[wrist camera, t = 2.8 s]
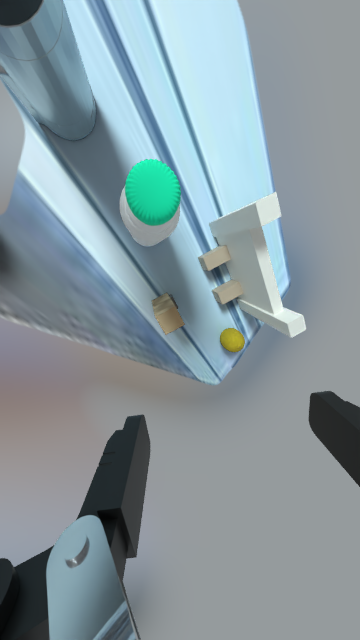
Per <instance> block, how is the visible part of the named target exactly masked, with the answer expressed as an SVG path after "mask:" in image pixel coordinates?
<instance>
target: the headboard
mask: <svg viewBox="0 0 360 640" xmlns="http://www.w3.org/2000/svg"><path fill="white" fill-rule="evenodd" d="M279 217H281V212H280V207H279V203H278V198H277V194H276V192H274V193H272V194H270V195H268V196H266V197H264V198H261V199H259V200H257V201H255V202H253V203H250V204H248V205H246V206H244V207H242V208H240V209H237V210H235V211H233V212H231V213H229V214H226V215H224V216H222V217H220V218H218V219H216V220H214V221H213V222H211V223H209V226H210V229H211V232H212V234H213V237H216V239H217V242H218V244H219V246H218V247H216V248H215V249H213V250H211V251H209V252H207V253H205V254H203V255H201V256H200V257H198V259H199V261H200V264H201V266H202V268H203V270H206V271H210V270H212V269H214V268H215V267H217V266H219V265H221V264H223V263H226V266H227V269H228V271H229V274H230V277H231V280H230V281H228V282H226V283H224V284H222V285H220V286H219V287H217V288H215V289H213V290H212V292H213V294H214V297H215V299H216V301H217V302H219V303H221V304H222V305H223V304H225V303H227V302H229V301H230V300H232V299H234V298H236V297H238V298H237V302H238V304H239V307H240V309H241V310H243V311H245V312H247V313H248V314H250V315H252V316H254V317H255V318H257V319H259V320H261V321H263V322H264V323H266V324H268V325H270V326H271V327H273V328H275V329H277V330H278V331H280V332H282V333H284V334H285V335H287V336H289V337H291V338H292V337H293V336H295V335H297V334H299V333H301V332H303V331H305V330H306V326H305V321H304V316H303V315H301V314H299V313H296V312H294V311H291V310H288V309H286V308H283V306H282V302H281V298H280V294H279V290H278V287H277V283H276V279H275V275H274V272H273V268H272V264H271V260H270V257H269V253H268V249H267V245H266V241H265V238H264V234H263V230H262V226H264V225H266V224H268V223H270V222H271V221H273V220H275V219H277V218H279Z"/></svg>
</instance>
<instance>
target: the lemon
mask: <svg viewBox="0 0 360 640" xmlns="http://www.w3.org/2000/svg"><path fill="white" fill-rule="evenodd" d="M220 342H221V344H222V346H223V347H224V348H225V349H226V350H228V351H230V352H238V351H240V350H241V349H242V348H243V347H244V344H245V340H244V337H243V335H242V334H241V333H240V332H239V331H238V330H236V329H233V328H228V329H225V330H224V331H223V332H222V333H221V335H220Z"/></svg>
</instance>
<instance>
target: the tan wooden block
mask: <svg viewBox="0 0 360 640" xmlns="http://www.w3.org/2000/svg"><path fill="white" fill-rule="evenodd" d="M152 304H153V309H154V314H155V318H156V319H157V321H158V323H159V325H160V326H161V328H162V330H163V331H164V333H165V335H167V334H168V333H170V332H172V331H174V330H176V329H178V328H180V327H181V326H183V325H185V324H184V322H183V320H182V318H181V316H180V314H179V312H178V311H177V309H178V306H177V304H176V303H175V301H174V299H173V297H172V295H168V294H167V293H165V294H163V295H162V296H160V297H158V298H156V299H154V300H152Z"/></svg>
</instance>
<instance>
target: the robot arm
mask: <svg viewBox="0 0 360 640" xmlns="http://www.w3.org/2000/svg"><path fill="white" fill-rule="evenodd" d="M0 76H1V78H2V79H3V80H4V81H5V83H6V84H7V85H8V86H9V88H10V89H11V90H12V91H13V92H14V94H15V95H16V96H17V97H18V99H19V100H20V101H21V102H22V104H23V105H24V106H25V107H26V109H27V110H28V111H29V112H30V114H31V115H32V116H33V117H34V119H35V120H36V121H37V122H38V123H40V124H44V125H46V126H47V127H48V128H49V129H50V130H51V131H52V132H53V133H55V134H57V135H58V136H60V137H62V138H64V139H68V140H79V139H82V138H84V137H86V136H87V135H88V134H89V133H90V132H91V131H92V129H93V127H94V124H95V120H96V106H95V101H94V98H93V93H92V90H91V87H90V84H89V81H88V78H87V75H86V72H85V68H84V65H83V62H82V59H81V56H80V52H79V49H78V46H77V43H76V40H75V36H74V33H73V30H72V27H71V24H70V20H69V17H68V14H67V11H66V8H65V4H64V1H63V0H0ZM309 423H310V427H311V429H312V431H313V432H314V434H315V435H316V436H317V437H318V439H319V440H320V441H321V442H322V443H323V444H324V445H325V447H326V448H327V449H328V450H329V451H330V453H331V454H332V455H333V456H334V457H335V459H336V460H337V461H338V462H339V463H340V464H341V466H342V467H343V468H344V469H345V470H346V471H347V472H348V474H349V475H350V476H351V477H352V478H353V480H354V481H355V482H356V483H357V484H358V485H359V487H360V407H358V406H356V405H353V404H352V403H350V402H348V401H344V400H342V399H341V398H340V397H338V396H337V395H336V394H335V393H333V392H331V391H324V392H317V393H312V394H311V396H310V407H309ZM149 458H150V439H149V434H148V430H147V425H146V421H145V417H144V415H137V416H129V417H127V419H126V422H125V424H124V428H123V430H116V431H115V433H114V434H113V435H112V436H111V438H110V439H109V440H108V442H107V444H106V447H105V449H104V452H103V456H102V457H101V460H100V462H99V467H97V470H96V473H95V475H94V477H93V480H92V483H91V485H90V488H89V491H88V493H87V495H86V498H85V501H84V503H83V506H82V508H81V511H80V513H79V515H78V518H77V519H76V521H74V522H73V523H72V524H71V525H70V526H68V527H67V528H66V530H65V531H64V532H63V533H62V534H61V535H60V537H59V538H58V540H57V541H56V543H55V545H53V546H52V547H51V548H49V549H48V550H46V551H44V552H42V553H40V554H38V555H36V556H34V557H33V558H31V559H29V560H27V561H25V562H23V563H21V564H20V565H18V566H16V567H13V565H12V564H11V562H10V561H9V560H8V559H5V558H1V559H0V640H141V638H140V635H139V632H138V629H137V625H136V622H135V619H134V616H133V613H132V609H131V606H130V603H129V600H128V597H127V594H126V590H125V587H124V584H123V576H124V570H125V563H126V558H134V557H136V555H137V548H138V541H139V533H140V526H141V518H142V511H143V503H144V495H145V488H146V480H147V473H148V466H149Z"/></svg>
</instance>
